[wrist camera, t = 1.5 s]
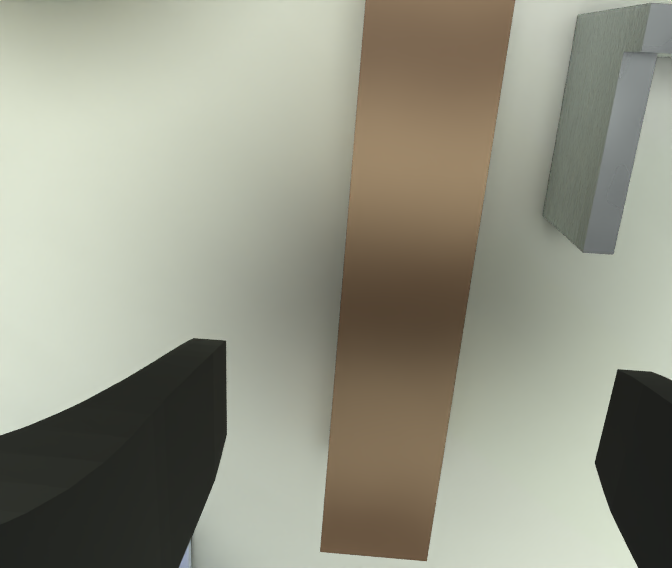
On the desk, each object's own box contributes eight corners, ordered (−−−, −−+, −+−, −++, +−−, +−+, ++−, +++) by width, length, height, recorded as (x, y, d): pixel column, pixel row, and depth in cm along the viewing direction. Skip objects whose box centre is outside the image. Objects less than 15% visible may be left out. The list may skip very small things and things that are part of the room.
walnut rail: (413, 452, 24) (426, 561, 19) (329, 444, 24) (319, 551, 19) (476, -9, 19) (519, -31, 13) (367, -18, 19) (369, -43, 13)
